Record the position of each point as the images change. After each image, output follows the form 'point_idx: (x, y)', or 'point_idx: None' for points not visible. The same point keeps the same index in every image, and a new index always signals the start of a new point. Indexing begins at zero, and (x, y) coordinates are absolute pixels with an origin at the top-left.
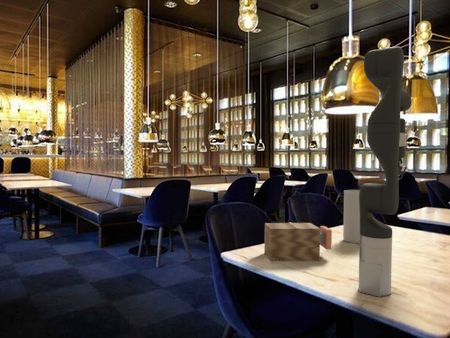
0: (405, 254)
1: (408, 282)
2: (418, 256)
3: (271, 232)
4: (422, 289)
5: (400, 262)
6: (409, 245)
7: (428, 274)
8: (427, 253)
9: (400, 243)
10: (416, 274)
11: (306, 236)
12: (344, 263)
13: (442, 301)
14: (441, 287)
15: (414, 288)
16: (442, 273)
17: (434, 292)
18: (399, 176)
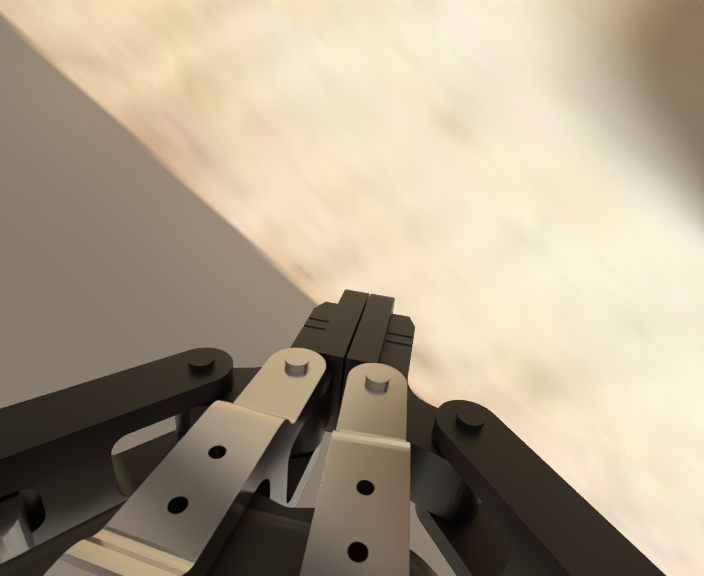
0: (524, 318)
1: (204, 64)
2: (482, 343)
3: None
4: (142, 66)
5: (427, 212)
6: (643, 437)
7: (280, 208)
8: (509, 405)
9: (693, 430)
10: (283, 163)
11: None
12: None
13: (54, 54)
14: (163, 149)
15: (149, 42)
16: (285, 263)
17: (120, 88)
18: (178, 432)
